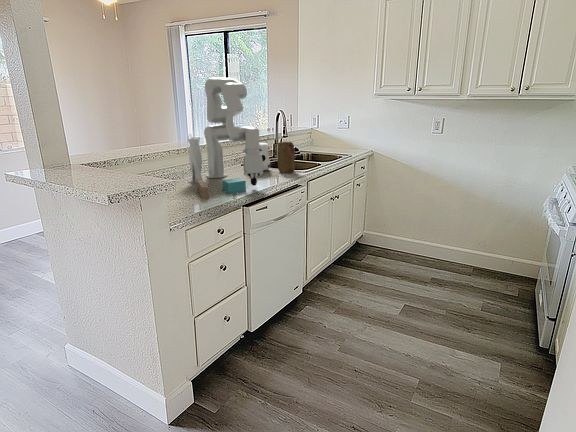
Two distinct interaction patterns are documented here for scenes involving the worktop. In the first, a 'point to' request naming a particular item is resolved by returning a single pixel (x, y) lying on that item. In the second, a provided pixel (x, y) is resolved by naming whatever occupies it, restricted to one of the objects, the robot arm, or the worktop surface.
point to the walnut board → (202, 188)
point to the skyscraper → (195, 159)
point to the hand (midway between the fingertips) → (253, 184)
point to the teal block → (234, 185)
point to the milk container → (265, 155)
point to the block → (286, 157)
